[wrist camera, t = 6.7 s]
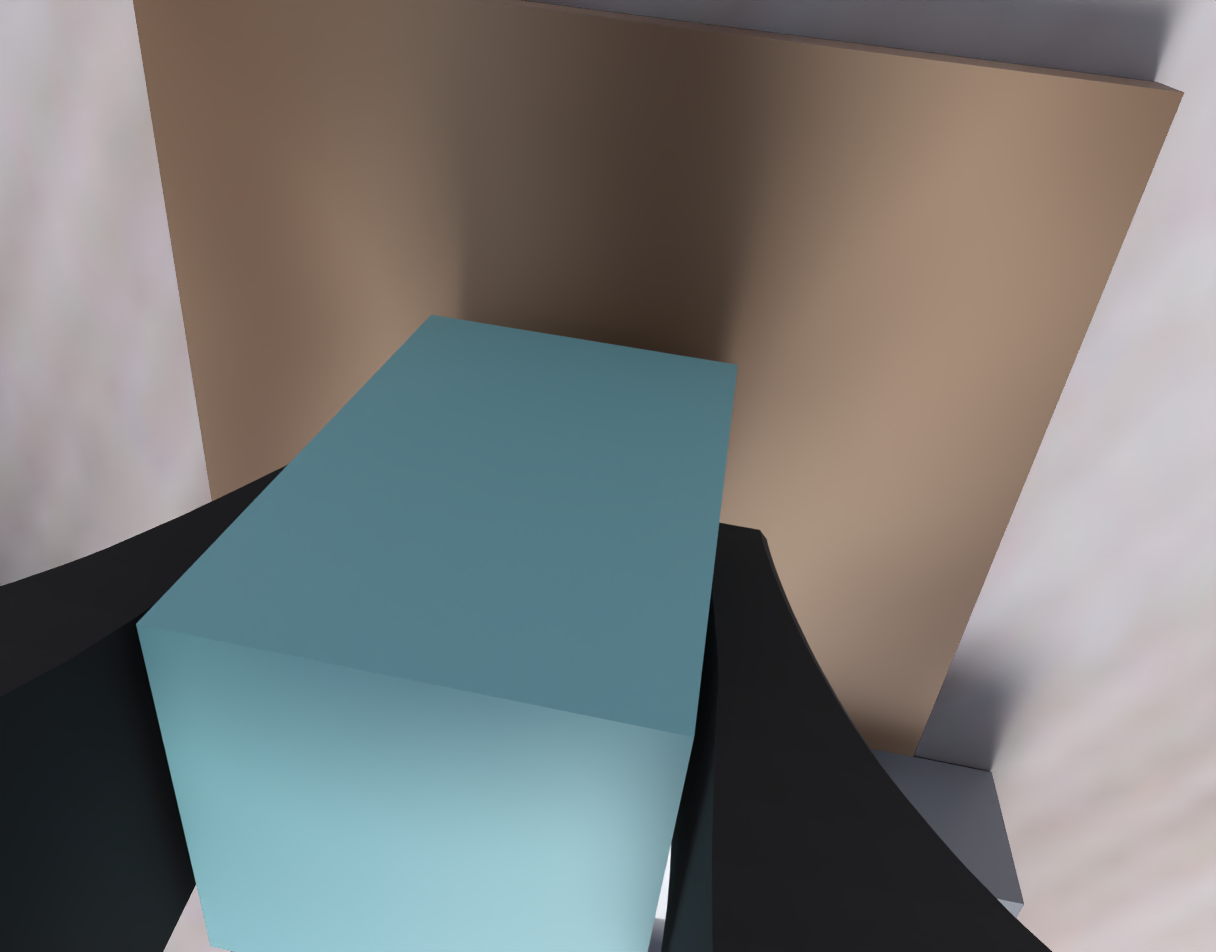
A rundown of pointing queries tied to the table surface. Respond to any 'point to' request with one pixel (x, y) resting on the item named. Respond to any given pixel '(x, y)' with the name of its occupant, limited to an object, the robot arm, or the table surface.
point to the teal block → (453, 655)
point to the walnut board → (667, 259)
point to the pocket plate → (938, 825)
